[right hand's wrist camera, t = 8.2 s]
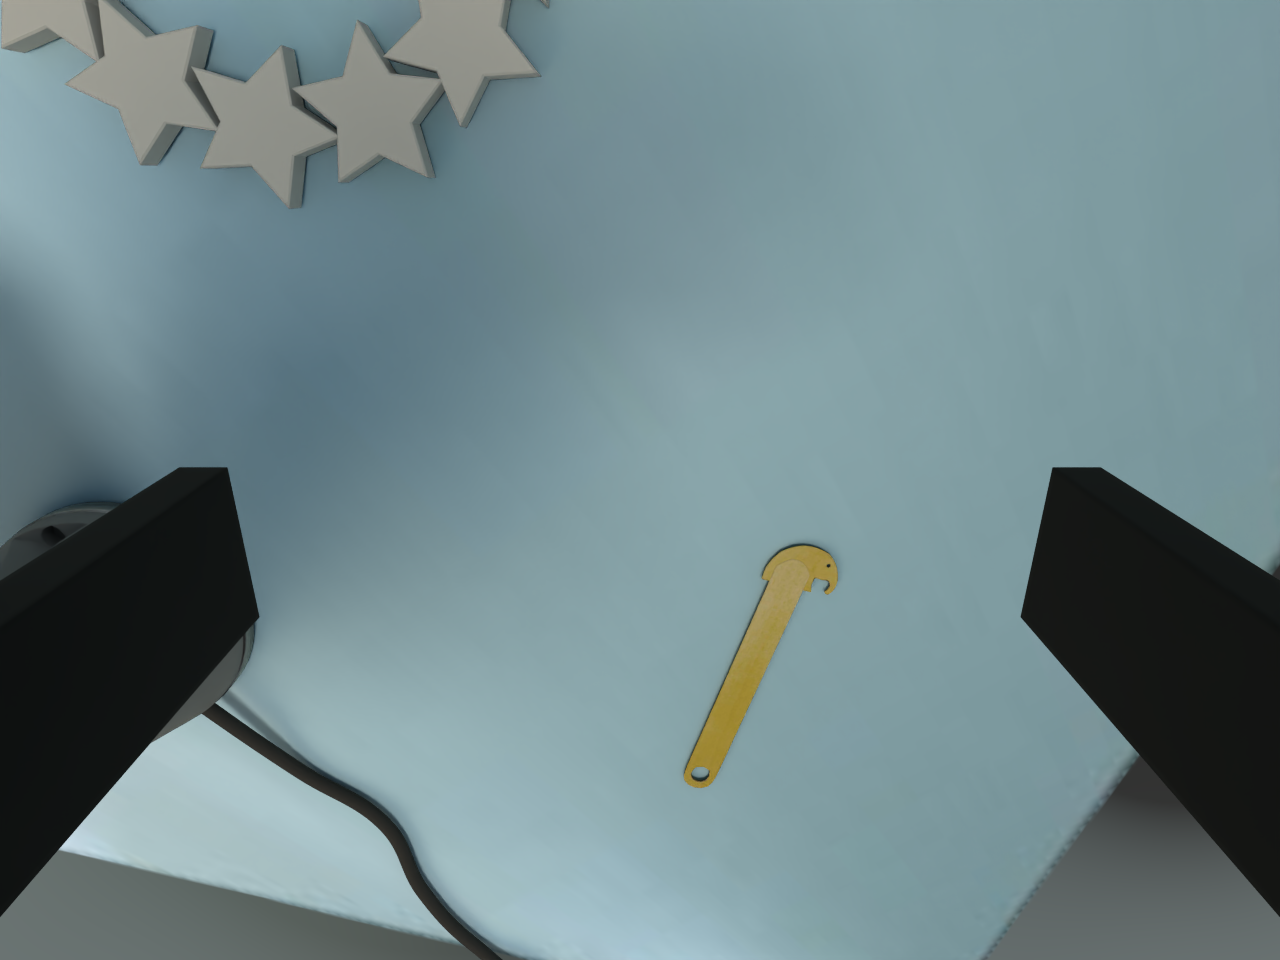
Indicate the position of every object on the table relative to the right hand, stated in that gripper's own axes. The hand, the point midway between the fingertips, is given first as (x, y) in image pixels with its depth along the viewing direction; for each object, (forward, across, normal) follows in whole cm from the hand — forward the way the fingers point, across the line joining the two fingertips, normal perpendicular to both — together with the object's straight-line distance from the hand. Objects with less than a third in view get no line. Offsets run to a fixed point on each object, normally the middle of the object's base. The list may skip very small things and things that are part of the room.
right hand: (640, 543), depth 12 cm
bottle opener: (+31, +8, -25) cm, 40 cm away
